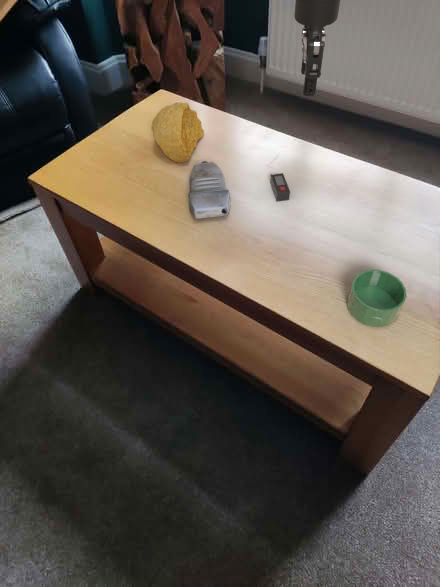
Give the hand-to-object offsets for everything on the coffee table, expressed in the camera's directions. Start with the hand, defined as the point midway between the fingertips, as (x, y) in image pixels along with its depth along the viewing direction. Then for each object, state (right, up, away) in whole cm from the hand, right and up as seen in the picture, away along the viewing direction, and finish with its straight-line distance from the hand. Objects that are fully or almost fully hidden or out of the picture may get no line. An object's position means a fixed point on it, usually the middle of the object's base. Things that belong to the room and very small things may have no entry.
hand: (307, 84), depth 85 cm
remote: (-3, -17, +18) cm, 25 cm away
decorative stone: (-28, -2, +31) cm, 42 cm away
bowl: (+12, -44, -4) cm, 45 cm away
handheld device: (-20, -18, +19) cm, 33 cm away
